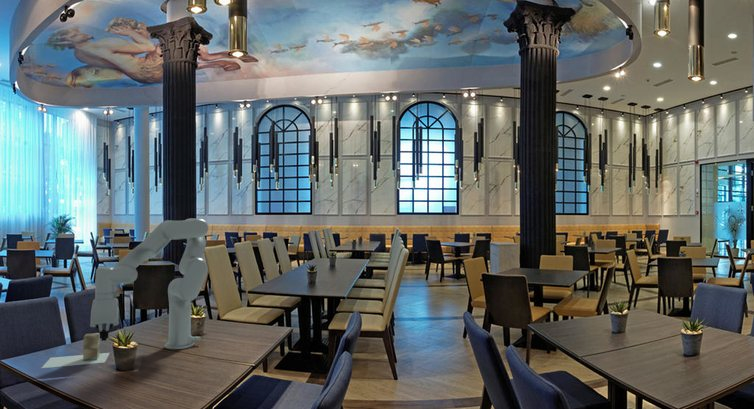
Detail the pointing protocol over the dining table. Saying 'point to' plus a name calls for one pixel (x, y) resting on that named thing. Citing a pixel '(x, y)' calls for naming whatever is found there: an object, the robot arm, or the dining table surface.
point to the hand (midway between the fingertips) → (104, 339)
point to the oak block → (91, 347)
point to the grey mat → (73, 360)
